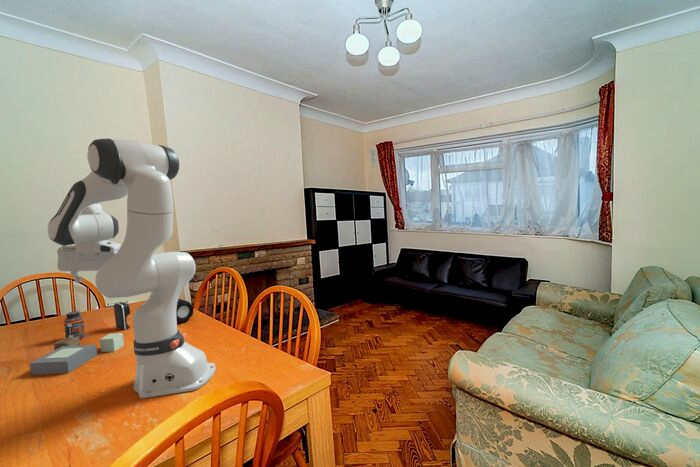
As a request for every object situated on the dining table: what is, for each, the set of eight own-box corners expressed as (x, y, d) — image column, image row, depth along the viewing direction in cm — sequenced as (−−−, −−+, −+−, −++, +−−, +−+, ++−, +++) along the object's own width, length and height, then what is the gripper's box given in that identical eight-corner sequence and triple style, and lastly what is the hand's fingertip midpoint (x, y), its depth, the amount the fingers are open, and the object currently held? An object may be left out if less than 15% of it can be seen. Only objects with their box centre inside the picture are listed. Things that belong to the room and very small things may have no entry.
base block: (97, 355, 114) (95, 344, 113) (68, 372, 102) (67, 360, 102) (63, 356, 114) (62, 345, 113) (31, 374, 102) (29, 362, 101)
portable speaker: (196, 319, 147) (194, 298, 146) (174, 326, 139) (172, 305, 138) (170, 310, 162) (168, 291, 161) (149, 316, 154) (147, 296, 153)
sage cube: (124, 345, 121) (122, 333, 121) (114, 351, 116) (113, 338, 116) (111, 346, 121) (109, 333, 121) (101, 352, 116) (99, 339, 116)
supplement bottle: (74, 342, 126) (70, 315, 125) (62, 341, 127) (58, 314, 126) (89, 336, 132) (85, 310, 130) (77, 335, 133) (74, 309, 132)
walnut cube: (80, 349, 119) (79, 337, 119) (69, 356, 114) (67, 343, 114) (67, 350, 119) (65, 337, 118) (55, 356, 114) (53, 343, 114)
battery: (133, 327, 139) (130, 302, 138) (123, 330, 136) (120, 305, 135) (125, 324, 143) (122, 300, 142) (115, 327, 140) (112, 303, 139)
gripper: (51, 247, 110) (55, 285, 112) (118, 247, 116) (120, 283, 118) (62, 244, 116) (65, 279, 118) (125, 244, 122) (127, 278, 124)
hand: (93, 281), depth 118 cm, fingers open, 8 cm apart
